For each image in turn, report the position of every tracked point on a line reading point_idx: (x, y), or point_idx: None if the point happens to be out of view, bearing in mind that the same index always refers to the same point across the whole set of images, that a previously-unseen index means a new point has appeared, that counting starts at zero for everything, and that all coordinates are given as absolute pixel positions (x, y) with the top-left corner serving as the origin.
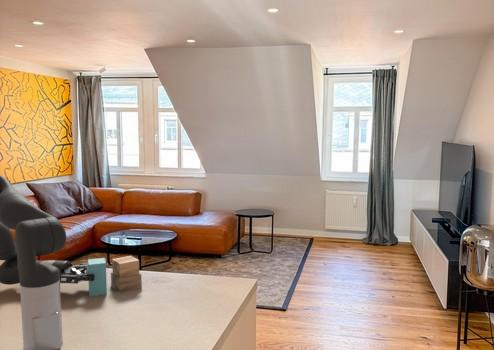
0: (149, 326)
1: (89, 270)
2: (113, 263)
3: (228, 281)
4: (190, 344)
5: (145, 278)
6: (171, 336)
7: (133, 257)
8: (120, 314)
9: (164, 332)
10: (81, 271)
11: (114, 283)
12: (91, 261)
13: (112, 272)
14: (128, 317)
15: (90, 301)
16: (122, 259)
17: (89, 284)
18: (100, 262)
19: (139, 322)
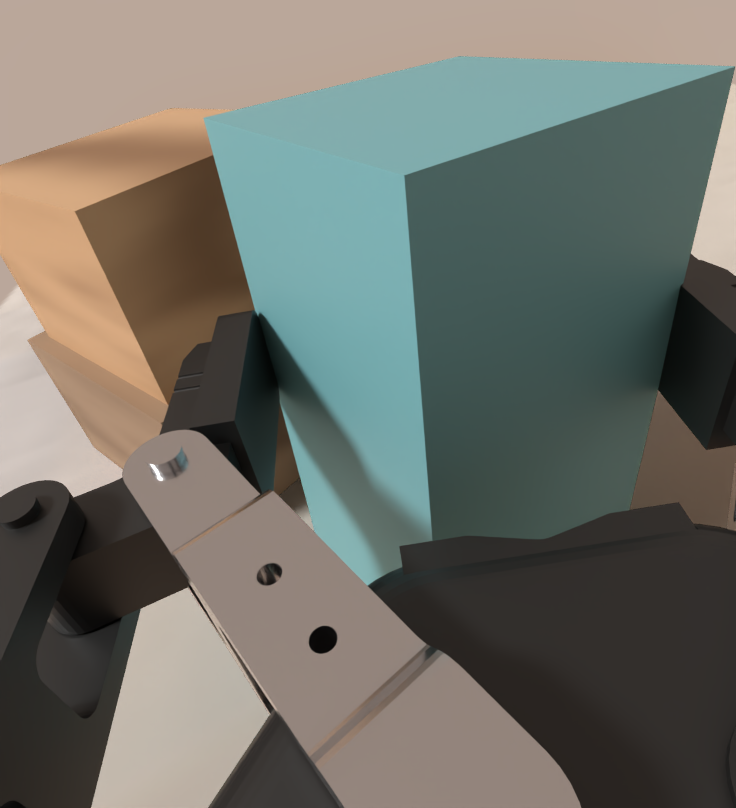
0: (726, 151)
1: (686, 208)
2: (150, 248)
3: None
4: (730, 86)
5: (48, 400)
6: (731, 110)
7: (54, 149)
8: (727, 241)
9: (724, 123)
10: (571, 550)
11: (287, 435)
12: (506, 109)
13: (156, 410)
14: (723, 210)
15: (718, 481)
16: (120, 159)
17: (639, 444)
18: (475, 70)
19: (727, 175)
